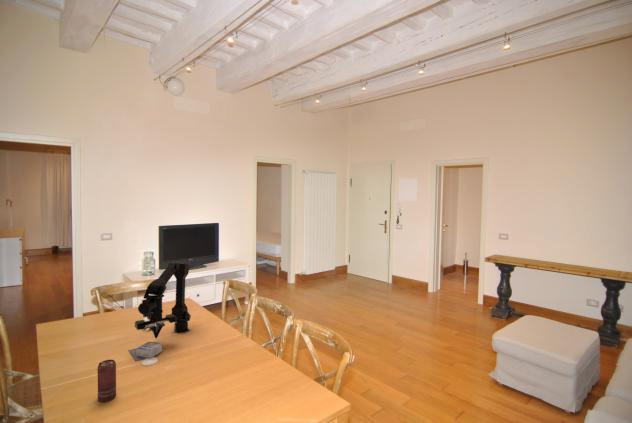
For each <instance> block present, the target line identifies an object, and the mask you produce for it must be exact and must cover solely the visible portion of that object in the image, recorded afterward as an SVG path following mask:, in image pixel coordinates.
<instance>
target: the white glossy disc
mask: <svg viewBox="0 0 632 423" xmlns="http://www.w3.org/2000/svg"><path fill="white" fill-rule="evenodd" d="M158 362H159V359H158V358H157V357H156V356H154V357H152V358H146V359H142V360H141V366H144V367H151V366H154V365H156V364H158Z"/></svg>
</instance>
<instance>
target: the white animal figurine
mask: <svg viewBox="0 0 632 423" xmlns="http://www.w3.org/2000/svg"><path fill="white" fill-rule="evenodd" d="M141 320H144V321H145V322H146V321H150V320H149V319H147V317H143V318H141ZM155 326H156V323H155ZM150 330H151V329H150V328H149V327H148V326H147V325H146V327H145V332H148V331H149V332H150Z"/></svg>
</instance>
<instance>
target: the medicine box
mask: <svg viewBox="0 0 632 423" xmlns="http://www.w3.org/2000/svg"><path fill="white" fill-rule="evenodd" d="M162 344H163V343H162V342H156V341H147V342H145V343H143V344H142V345H140V346H137V347H136V348H137V357H144V358H152V357H156V356H155V355H157V354H158V355H159V354H160V353H162V351H163V348H162V346H163V345H162ZM158 355H157V356H158Z"/></svg>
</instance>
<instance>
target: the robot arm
mask: <svg viewBox="0 0 632 423" xmlns="http://www.w3.org/2000/svg"><path fill="white" fill-rule="evenodd" d="M189 271H190V265H189V264H188V263H187V262H186V263H185V262H183V263H182V262H172V261H171V262H169V263H168V264H167V266H166V268H165V269H164V270H163V272H162V273H161V274H160V276H159V277H158V278H156V279H154V280H152V281H151V282H150V283H149V284H148V285H147V288H146V290H145V292H144V295H143V299H142V300H141V303H140V304H139V305H138V307H137V311H138V312H139V313H140V314H141V315H143V317H142V318H145V317H147V319H149V320H150V321H146V322H145V321H144V320H142V319H140V320H136V321H134V327H135V329H136V330H137V331H140V330H144V329H145V330H146V328H148V327H149V328H150V330H151V331H152V334H153V337H154V339H158V337H159V335H160V333H161V331H162V329H163V328H164V327H165V326H166V323H165V322H168V323H170V324H172V323H173V327H174V328H173V330H174V331H175V332H176V333H177V334H181V333H184V332H188V331H190V329H188V328H189V326H188V325H189V321H191V316H192V314H190V313H189V310H188V306H187V305H186V302H185V301H186V300H185V299H186V278H187V276H188V275H189ZM172 276H174V278H175V304H174V305H173V307H171V314H165V316H164V317H163V313H164V312H163V311H164V310H163V298H164V297H165V295H164V293H165V291H166V289H167V283H168V282H169V281H170V279H171V278H172ZM155 323H156V325H155ZM146 325H147V326H146ZM145 327H146V328H145Z"/></svg>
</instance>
